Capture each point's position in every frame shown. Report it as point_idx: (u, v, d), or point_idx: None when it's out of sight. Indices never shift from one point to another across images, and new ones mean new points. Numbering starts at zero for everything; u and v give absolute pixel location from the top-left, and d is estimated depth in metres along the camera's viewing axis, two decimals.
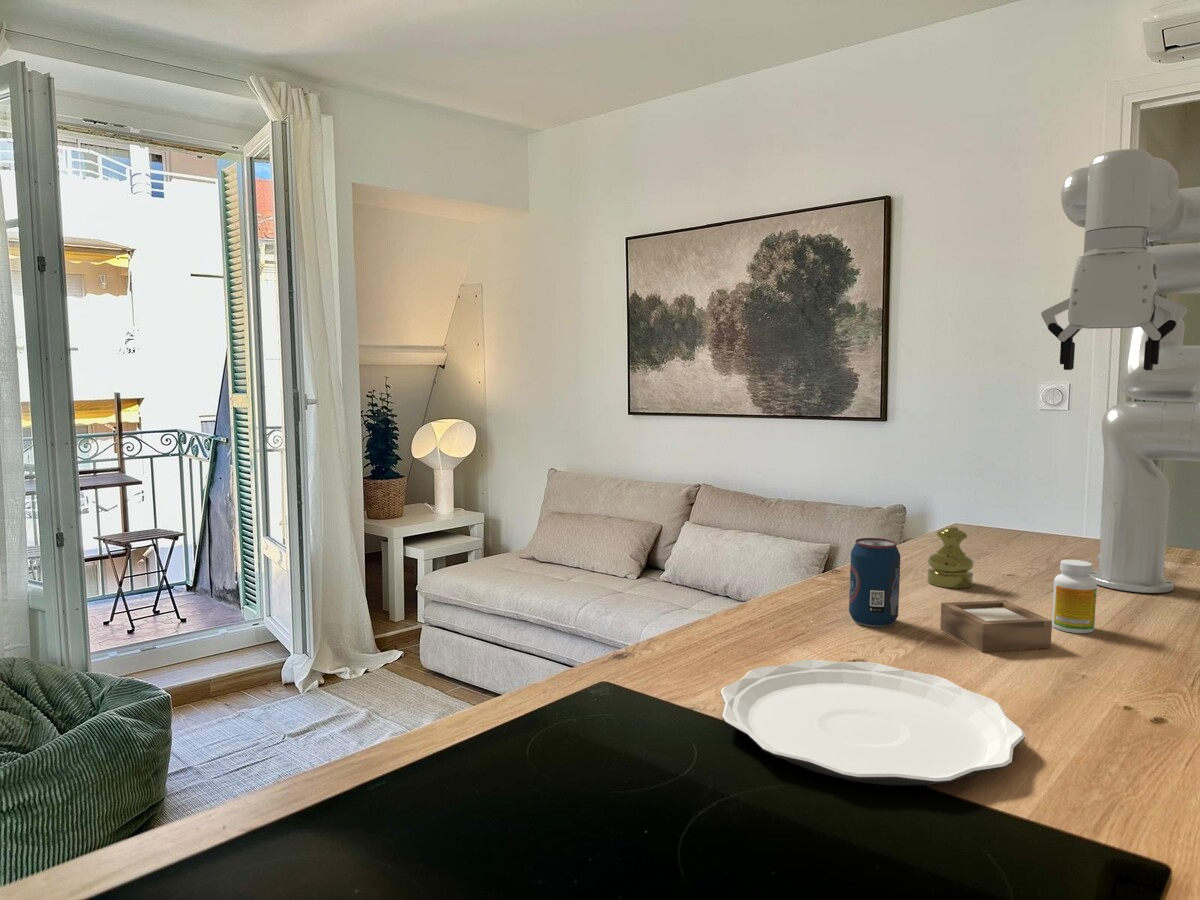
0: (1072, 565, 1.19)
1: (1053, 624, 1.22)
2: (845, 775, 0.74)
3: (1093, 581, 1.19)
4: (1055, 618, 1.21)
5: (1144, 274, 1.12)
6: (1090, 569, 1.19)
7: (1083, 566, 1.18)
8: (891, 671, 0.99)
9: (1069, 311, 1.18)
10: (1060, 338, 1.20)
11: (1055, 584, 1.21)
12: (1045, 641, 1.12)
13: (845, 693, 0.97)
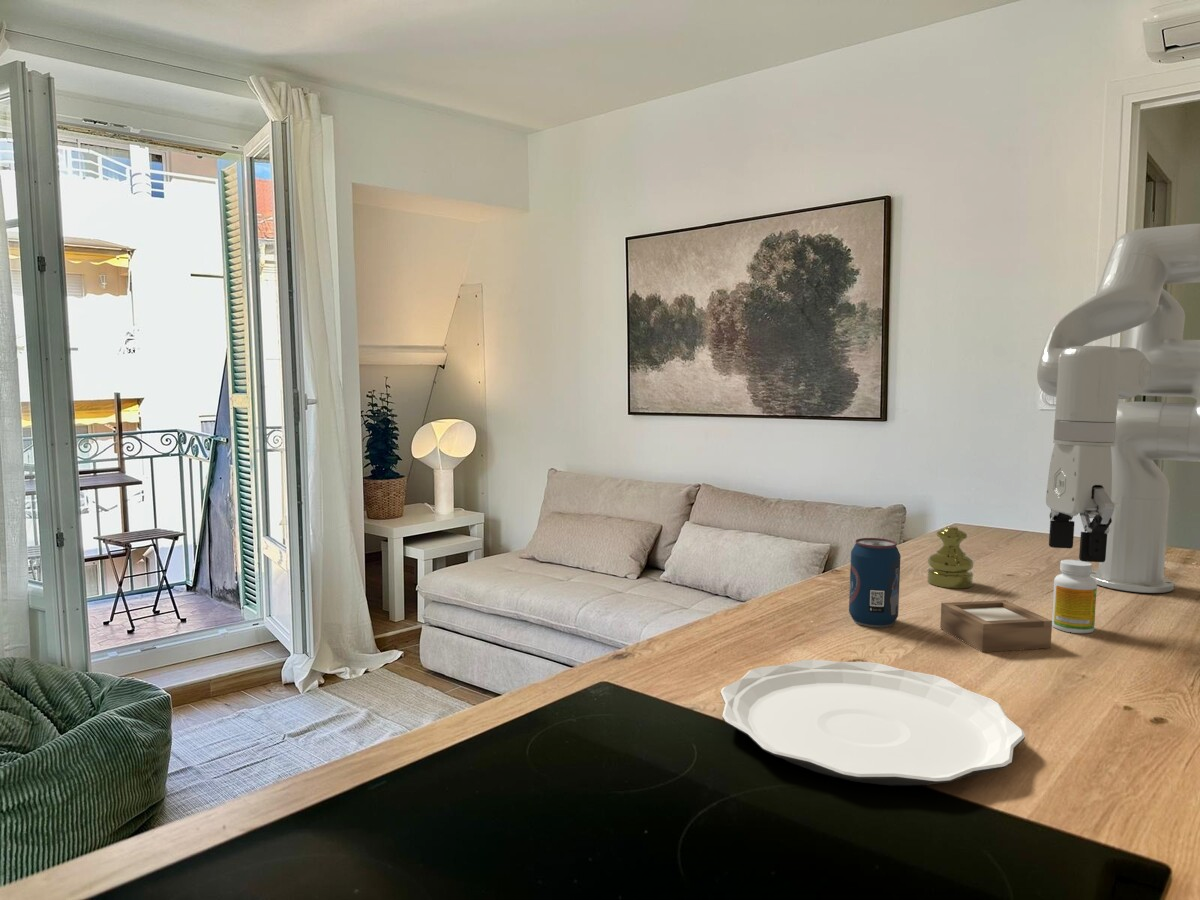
0: (1072, 565, 1.19)
1: (1053, 624, 1.22)
2: (845, 775, 0.74)
3: (1093, 581, 1.19)
4: (1055, 618, 1.21)
5: None
6: (1090, 569, 1.19)
7: (1083, 566, 1.18)
8: (891, 671, 0.99)
9: None
10: None
11: (1055, 584, 1.21)
12: (1045, 641, 1.12)
13: (845, 693, 0.97)
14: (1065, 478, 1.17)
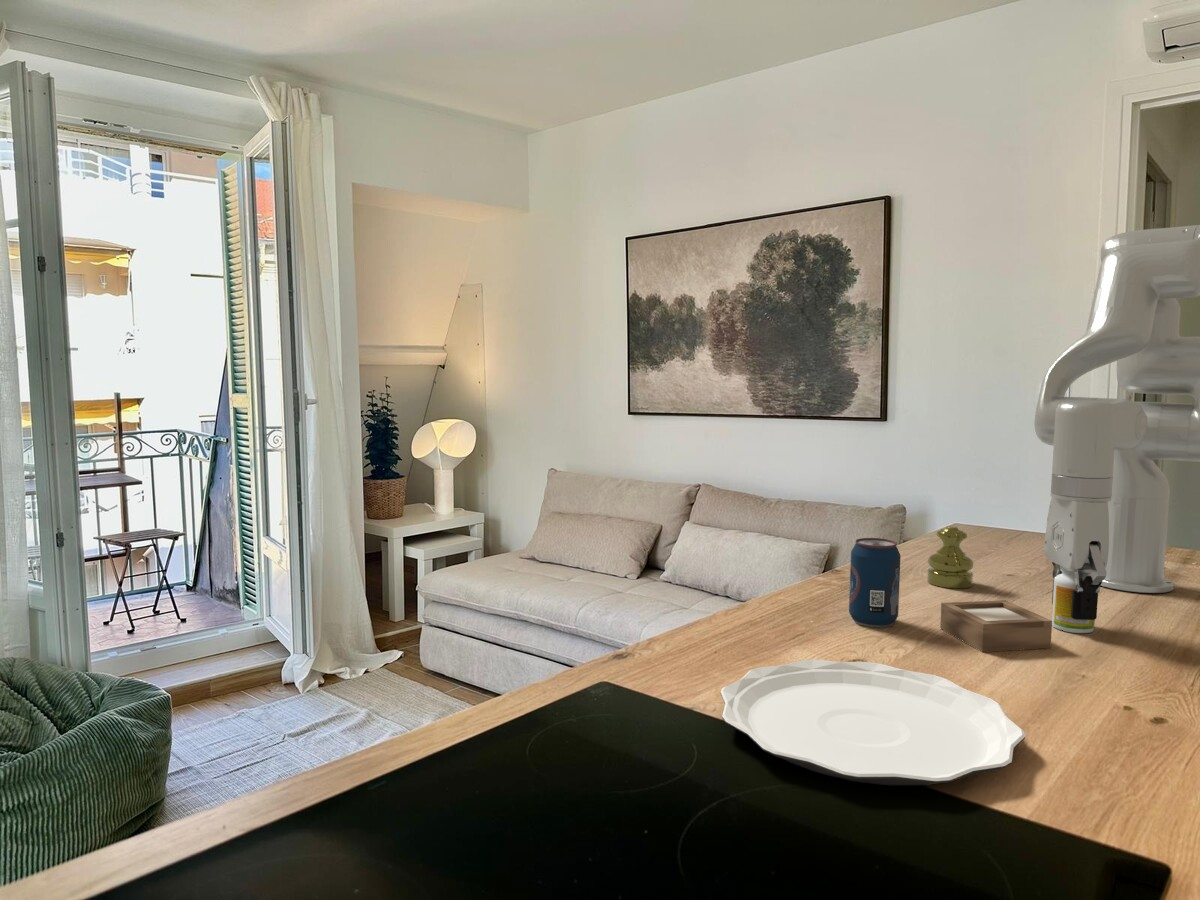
0: None
1: (1053, 624, 1.22)
2: (845, 775, 0.74)
3: None
4: (1055, 617, 1.21)
5: None
6: None
7: (1083, 566, 1.18)
8: (891, 671, 0.99)
9: (1107, 557, 1.15)
10: None
11: (1055, 584, 1.21)
12: (1045, 641, 1.12)
13: (845, 693, 0.97)
14: (1063, 532, 1.19)
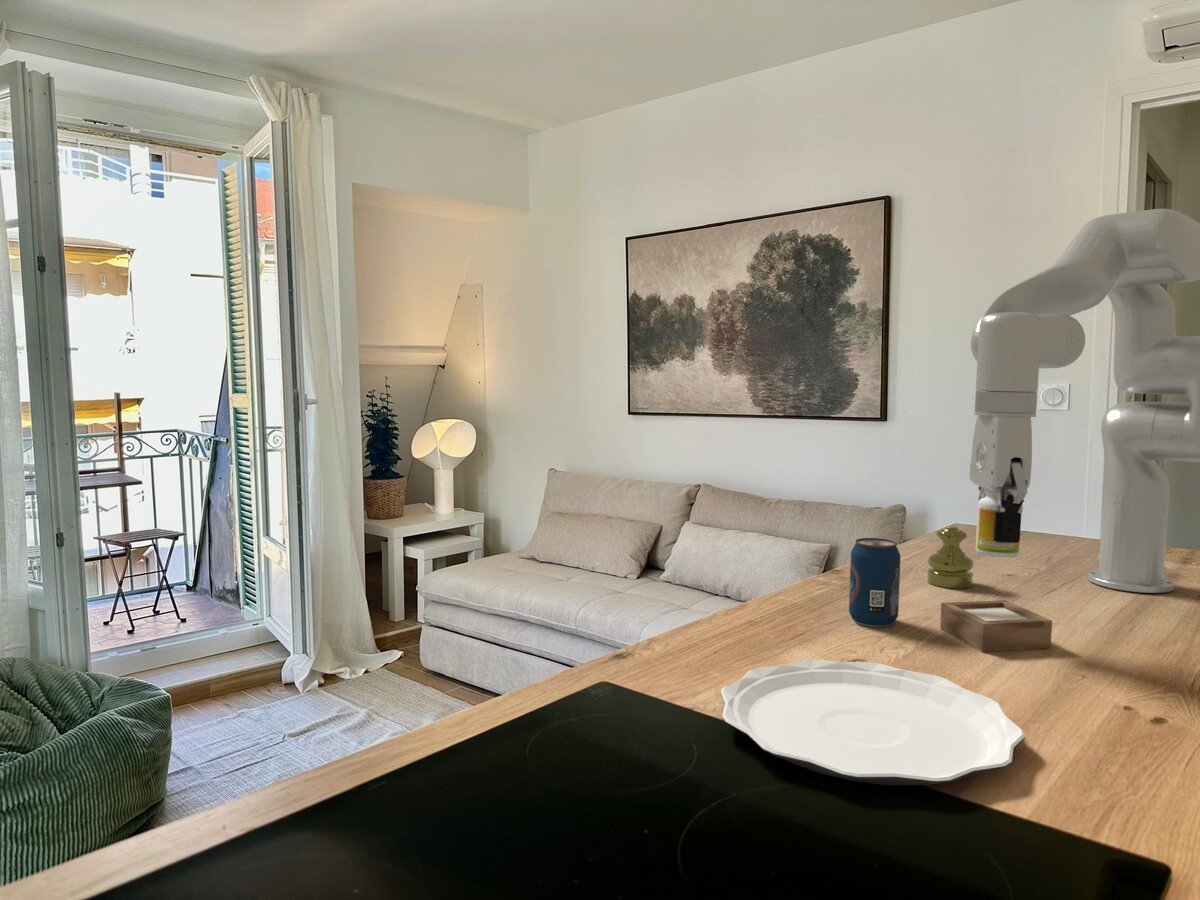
0: None
1: (976, 549, 1.16)
2: (845, 775, 0.74)
3: None
4: (979, 542, 1.15)
5: None
6: None
7: (1006, 486, 1.13)
8: (891, 671, 0.99)
9: (1030, 475, 1.09)
10: None
11: (978, 507, 1.15)
12: (1045, 641, 1.12)
13: (845, 693, 0.97)
14: (985, 451, 1.13)
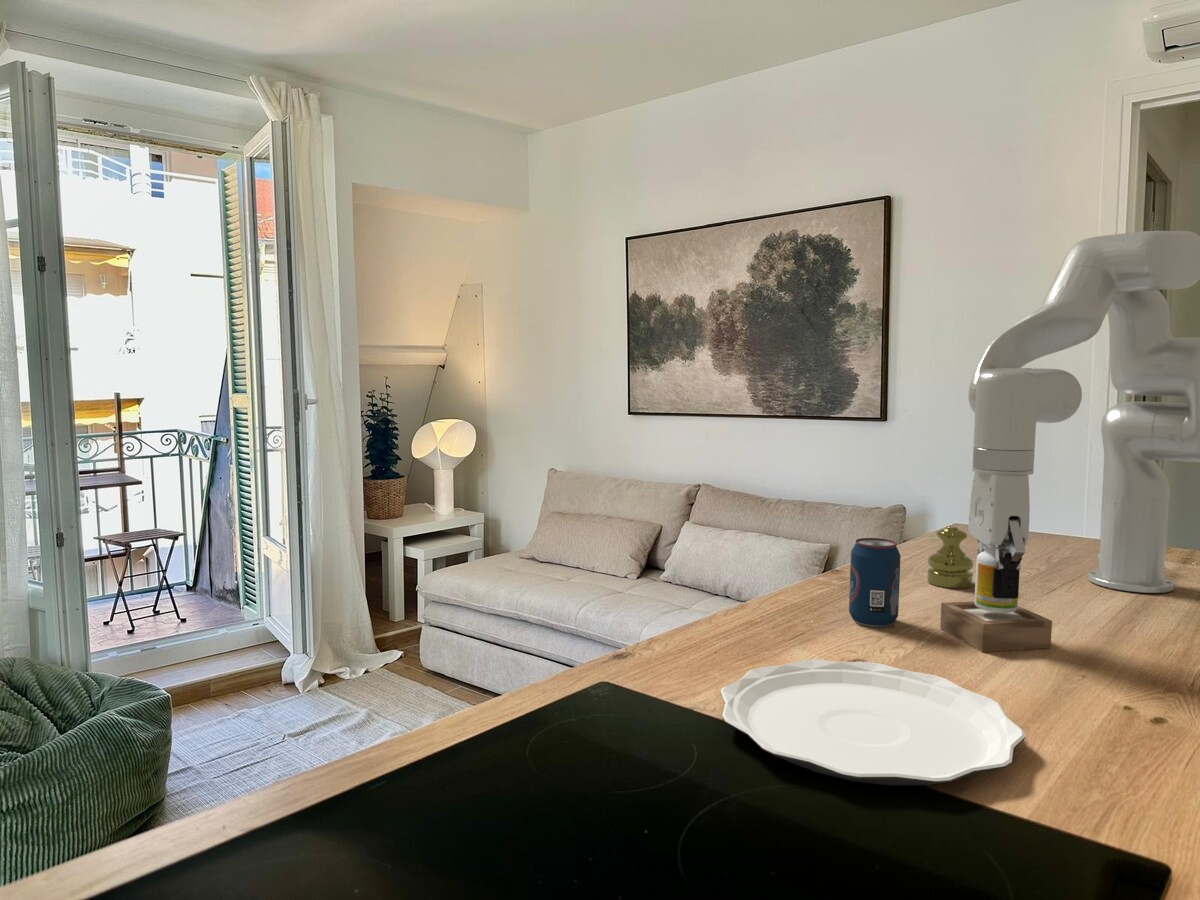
0: None
1: (975, 603, 1.17)
2: (845, 775, 0.74)
3: None
4: (978, 596, 1.16)
5: None
6: None
7: (1004, 542, 1.14)
8: (891, 671, 0.99)
9: (1027, 533, 1.10)
10: None
11: (977, 562, 1.16)
12: (1045, 641, 1.12)
13: (845, 693, 0.97)
14: (983, 508, 1.14)
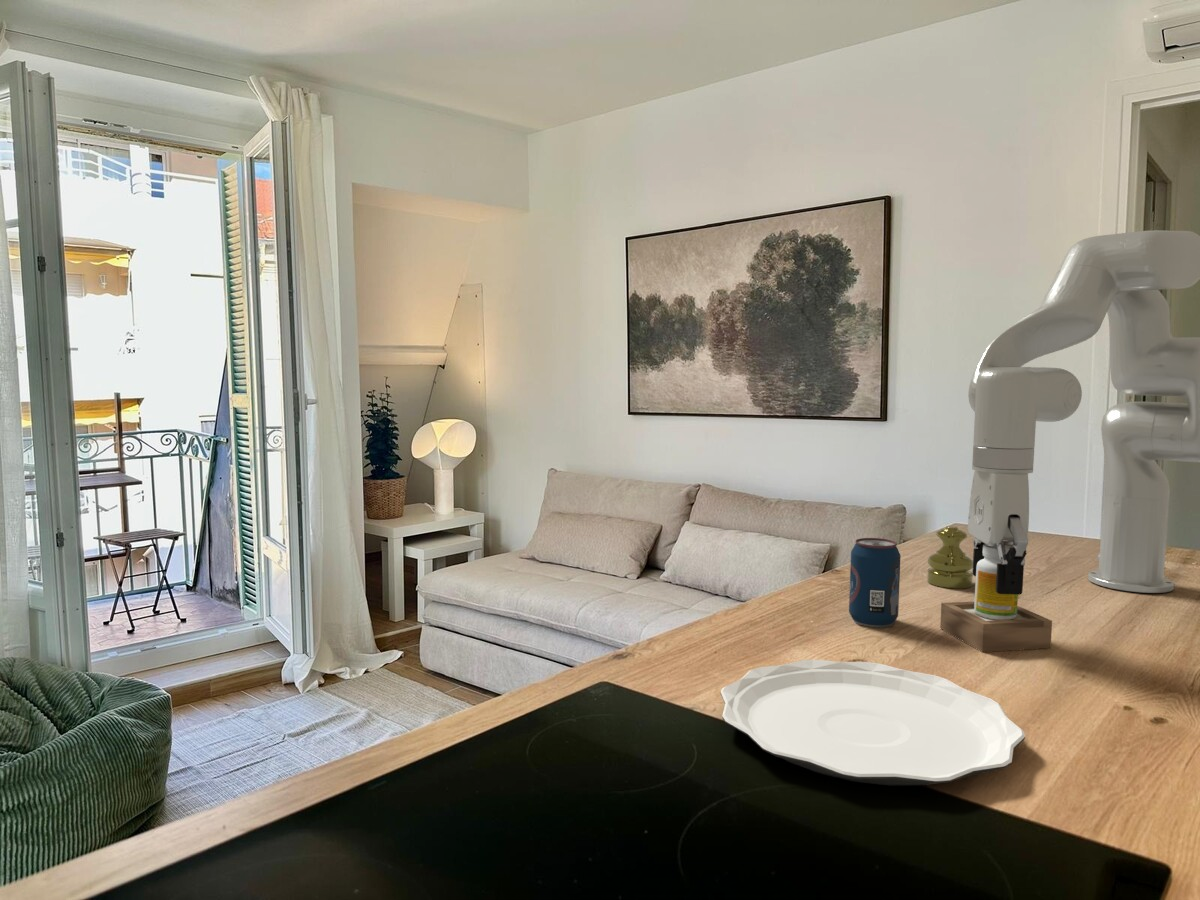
0: (994, 549, 1.14)
1: (975, 610, 1.17)
2: (845, 775, 0.74)
3: None
4: (977, 604, 1.16)
5: None
6: None
7: None
8: (891, 671, 0.99)
9: (1027, 531, 1.10)
10: None
11: (977, 569, 1.16)
12: (1045, 641, 1.12)
13: (845, 693, 0.97)
14: (983, 506, 1.13)
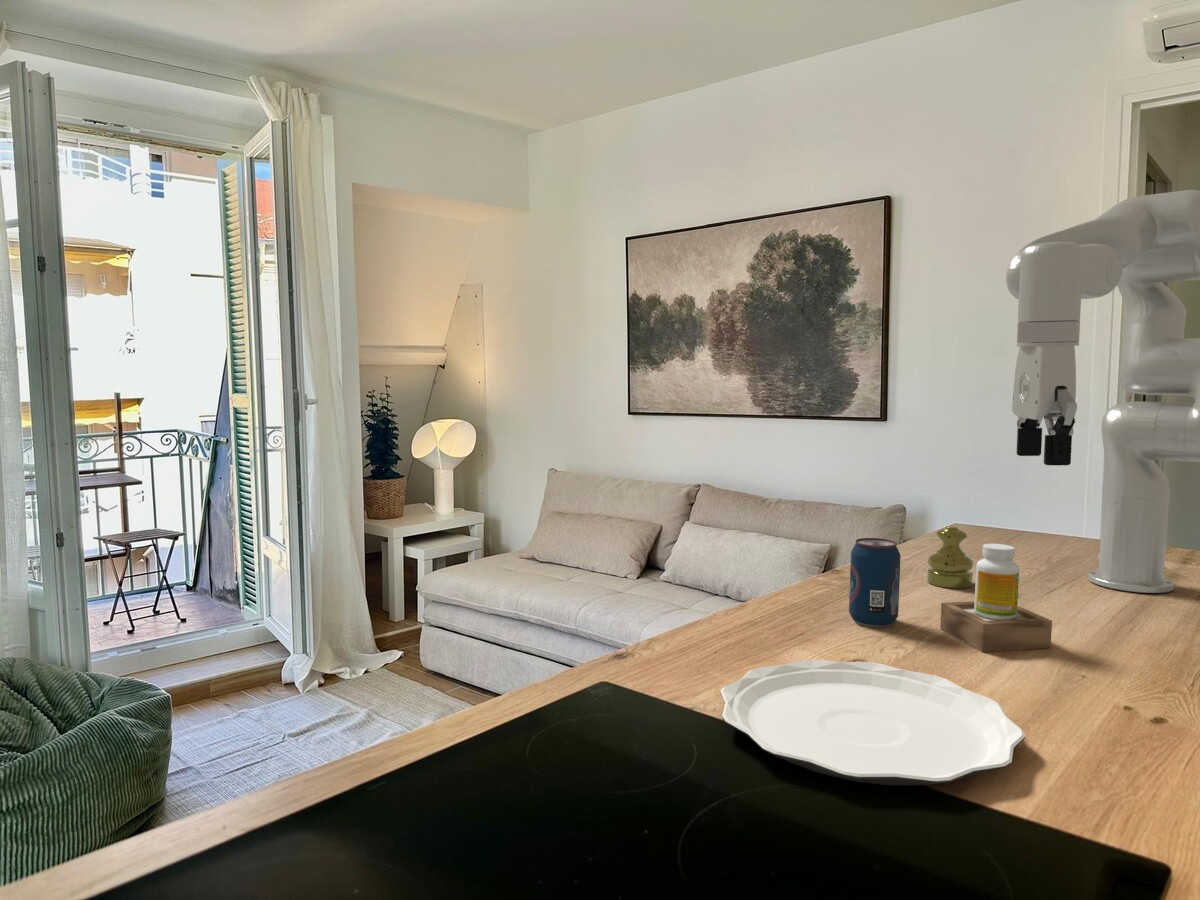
0: (994, 549, 1.14)
1: (975, 610, 1.17)
2: (845, 775, 0.74)
3: (1015, 565, 1.14)
4: (977, 604, 1.16)
5: None
6: (1012, 553, 1.14)
7: (1005, 550, 1.14)
8: (891, 671, 0.99)
9: None
10: None
11: (977, 569, 1.16)
12: (1045, 641, 1.12)
13: (845, 693, 0.97)
14: (1029, 381, 1.14)
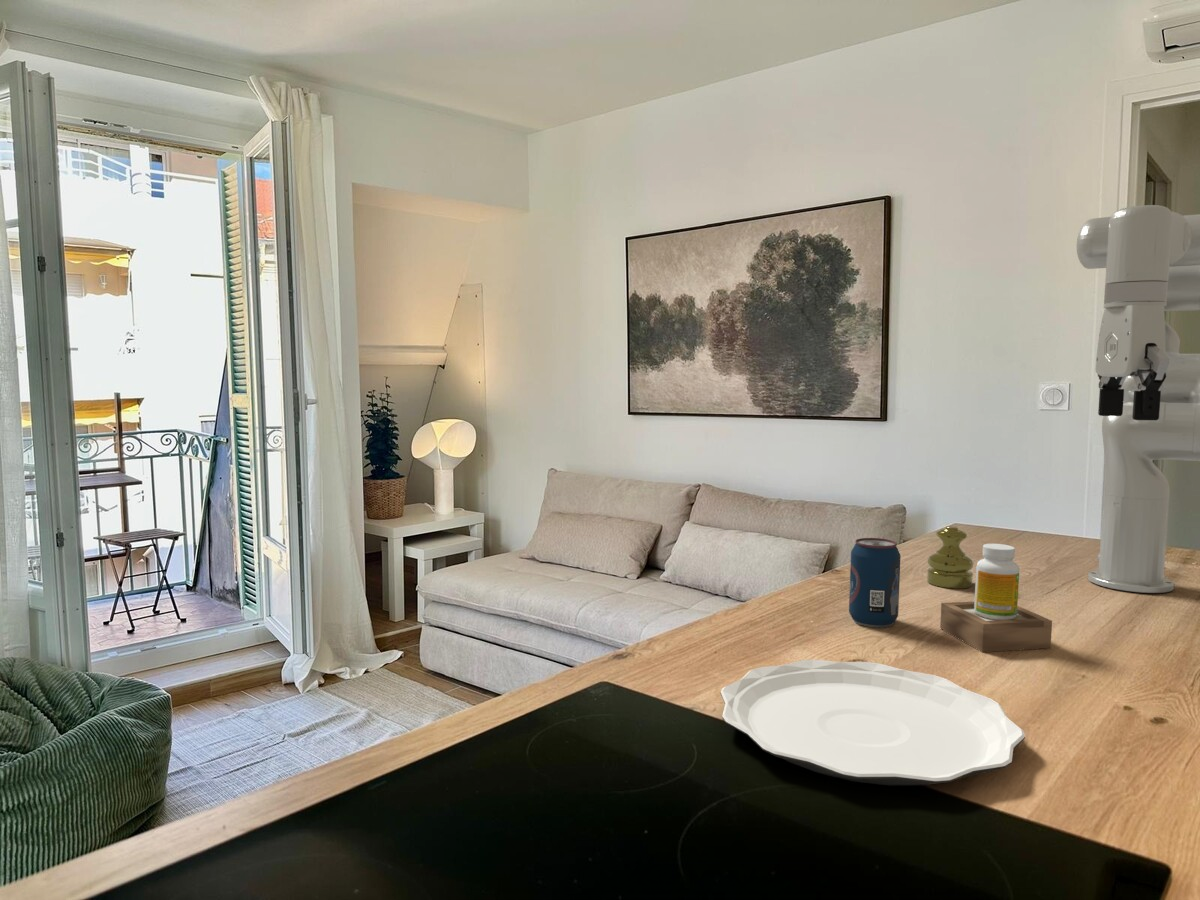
0: (994, 549, 1.14)
1: (975, 611, 1.17)
2: (845, 775, 0.74)
3: (1015, 566, 1.14)
4: (977, 604, 1.16)
5: None
6: (1012, 553, 1.14)
7: (1005, 550, 1.14)
8: (891, 671, 0.99)
9: None
10: None
11: (977, 569, 1.16)
12: (1045, 641, 1.12)
13: (845, 693, 0.97)
14: (1117, 340, 1.18)
